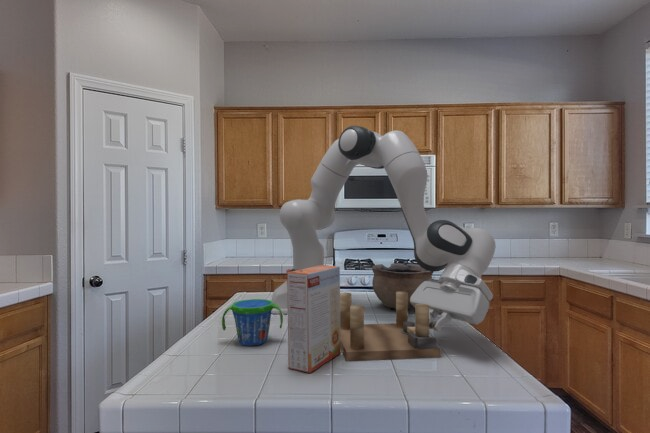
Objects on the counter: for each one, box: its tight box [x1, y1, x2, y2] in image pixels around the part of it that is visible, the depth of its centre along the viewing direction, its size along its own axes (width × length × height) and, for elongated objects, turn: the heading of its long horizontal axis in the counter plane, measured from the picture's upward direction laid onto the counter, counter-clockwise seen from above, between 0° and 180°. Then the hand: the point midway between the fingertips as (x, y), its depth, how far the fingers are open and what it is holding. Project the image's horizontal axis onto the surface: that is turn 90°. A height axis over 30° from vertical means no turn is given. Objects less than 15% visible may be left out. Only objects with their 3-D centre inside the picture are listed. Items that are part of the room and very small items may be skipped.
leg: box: [403, 304, 430, 337], centre depth 95 cm, size 13×3×9 cm, turn 5°
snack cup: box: [221, 298, 284, 347], centre depth 98 cm, size 16×10×10 cm
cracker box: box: [286, 264, 342, 374], centre depth 85 cm, size 14×6×21 cm, turn 149°
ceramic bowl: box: [371, 262, 434, 310], centre depth 137 cm, size 22×22×15 cm
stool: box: [340, 292, 441, 362], centre depth 97 cm, size 22×22×11 cm
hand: (431, 328), depth 90 cm, fingers closed
